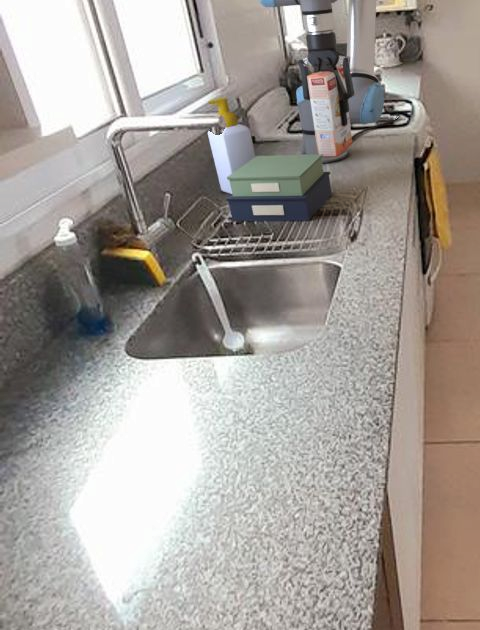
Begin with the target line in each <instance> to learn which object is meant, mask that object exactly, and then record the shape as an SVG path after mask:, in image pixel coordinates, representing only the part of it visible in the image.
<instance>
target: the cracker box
mask: <svg viewBox="0 0 480 630" xmlns="http://www.w3.org/2000/svg"><path fill="white" fill-rule="evenodd" d="M336 67H337V69H338V73H339V76H340V78H341V80H342V83H343V85H344V87H345V90H346V84H345V78H344V73H343V66H336ZM334 71H335V70H334ZM307 80H308V87H309V94H310V101H311V108H312V115H313V121H314V128H315V135H316V142H317V149H318V154H323V157H338V156H339V155H340V154H341V153H342V152H343V151H344V150H345V149H347V150H348V148H349V147H350V146H351V145H352V144H353V139H352V136H353V135H352V129H351V124H350V119H349V112H348V113H346V115H347V122H348V124H347V125H346V126H342V119H341V112H340V104H339V101H340V100H341V96H340V94H339V92H338V89H337V83H336V77H335V74H334V72H329V71H324V72H318V73H311V74H309V76H307Z"/></svg>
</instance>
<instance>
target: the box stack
mask: <svg viewBox="0 0 480 630" xmlns="http://www.w3.org/2000/svg"><path fill="white" fill-rule="evenodd" d="M322 157H323V154H313V155H300V154H286V155H285V154H279V155H277V154H276V155H272V154H271V155H255V157H254V158H253V159H251V160H250V161H249V162H247V163H246V164H244V165H243V166H242V167H240V168H239V169H237V170H236V171H235V172H233V173H232V174H231V175H229V176H228V177H227V180H229V182H230V186H231V190H232V194H229V195H228V196H227V197H225V201H226V202H228V206H229V211H230V215H231V219H232V220H231V221H233V222H283V221H284V222H291V221H292V222H293V221H295V222H297V221H298V222H300V221H301V222H303V221H306V222H307V221H308V222H309V221H310V220H311V219H312V218H313V217H314V216H315V214H316V213H317V212H318V211H319V210H320V208H321V207H322V206H323V205H324V203H326V201H327V200H328V199H329V197H330V196H331V195H332V194H333V193H332V186H331V179H330V175H331V171H324V165H323V164H324V163H322Z"/></svg>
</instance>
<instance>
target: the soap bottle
mask: <svg viewBox="0 0 480 630" xmlns="http://www.w3.org/2000/svg"><path fill="white" fill-rule="evenodd" d="M208 104H209V105H217V108H218V113H216V115H222V116H223V117H224V118H225V121H226V126H225V129H224V131H223V133H222V134H220V135H215V134H213V133H212V132H210V131H209V130H208V131H207V136H208V141H209V144H210V149H211V154H212V157H213V163H214V165H215V170H216V174H217V178H218V182H219V186H220V190H221V191H222V192H223V193H226V194H229V195H231V194H232V190H231V186H230V182H229V180H227V177H228V176H229V175H231V174H232V173H233V172H235V171H236V170H237V169H239V168H240V167H242V166H243V165H244V164H246V163H247V162H249V161H250V160H251V159H253V158H254V157H255V156H256V154H255V153H256V152H255V148H254V144H253V137H252V133H251V129H250V128H249V127H248V126H247V125H244V124H241V123H239V122H238V117H237V115H236V113H234V112H232V111H230V108H229V103H228V99H227V97H218V98H214V99H211V100H208Z"/></svg>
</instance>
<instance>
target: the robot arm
mask: <svg viewBox="0 0 480 630" xmlns="http://www.w3.org/2000/svg"><path fill="white" fill-rule="evenodd" d="M258 1H259V4H261V6H263V7H265V8H279V7H291V6H300V7H301V15H302V21H303V26H304V32H305V33H307V34H306V36H305V41H306V42H305V43H306V49H307V55H306V57H304V58H300V59H299V60H297V64H298V67H299V69H300V75H301V76H300V77H301V86H299V87H298V88H296V91H295V95H296V105H297V109H298V115H299V122H300V128H301V133H302V137H301V144H300V152H299V155H313V154H318V149H317V142H316V135H315V128H314V121H313V115H312V108H311V101H310V94H309V87H308V80H307V76H309V75H310V73H309V63H310V65H311V66H312V68H313V73H318V72H324V71H329V72H334V74H335V77H336V83H337V89H338V92H339V94H340V96H341V100H340V101H339V104H340V112H341V119H342V126H346V125H347V124H348V122H347V115H346V113H348V112H349V119H350V125H367V124H375V123H378V121H379V120H380V119H381V117H382V114H383V111H384V106H385V90H384V86H383V85H382V83H380V81H379V78H378V77H377V76H376V74H375V52H376V51H375V50H376V49H375V48H376V20H377V0H348V5H347V7H348V9H347V38H346V56H344V55H341V54H340V52H339V51H338V43H337V35H336V33H335V32H334V30H335V29H336V28H335V27H336V26H335V21H334V14H333V5H332V4H335V3H336V2H337V1H338V0H258ZM339 62H340V65H341V66H342V67H343V73H344V78H345V84H346V90H345V87H344V85H343V83H342V80H341V78H340V76H339V73H338V69H337V67H338V66H337V64H338V63H339ZM334 70H335V71H334ZM313 73H312V74H313ZM397 116H399V117H398V118H397ZM400 117H401V116H400V114H399V113H398V112H397V113H396V118H397V119H396V118H394V119H395V120H394V119H391V120H392V121H391V120H388V121H389V122H388V121H385V122H386V123H385V122H382V123H383V124H382V123H379V124H380V125H379V124H376V125H377V126H376V125H373V126H374V127H373V126H371V127H368V128H365V129H362V130H360V131H357V132H356V133H354V134H352V135H351V136H352V140H354V139H355V138H357V137H358V136H360V135H361V134H364V133H366V132H369V131H371V130H373V129H377V128H380V127H384V126H386V125H388V124H392V123H394V122H396V121H398V120H399V119H400ZM346 157H348V148H347V149H345V150H344V151H343V152H342V153H341V154H340V155H339V156H338V157H322V164H329V163H335V162H338V161H341V160H343V159H346Z"/></svg>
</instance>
